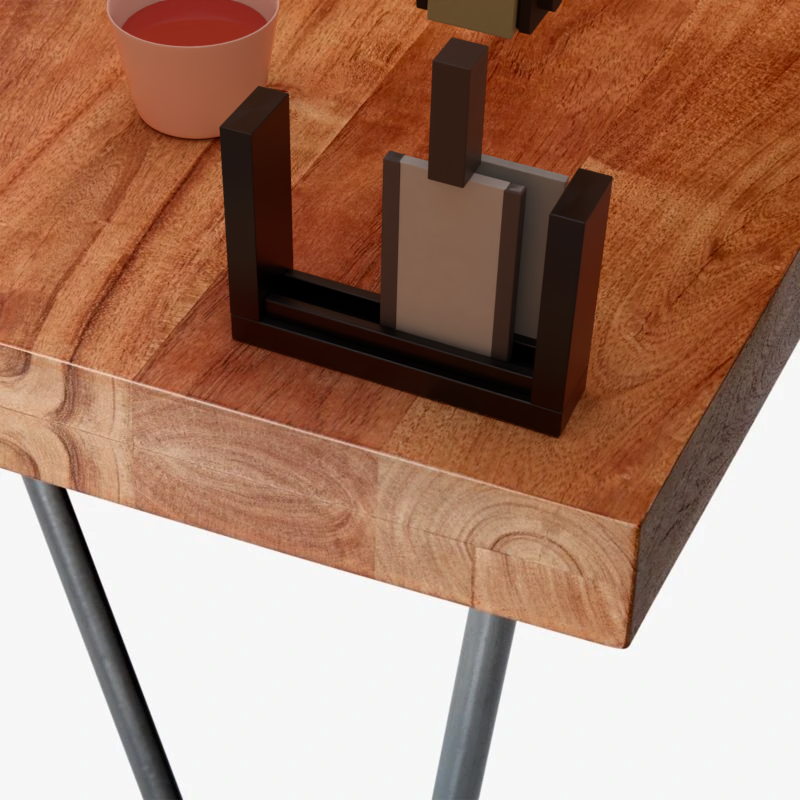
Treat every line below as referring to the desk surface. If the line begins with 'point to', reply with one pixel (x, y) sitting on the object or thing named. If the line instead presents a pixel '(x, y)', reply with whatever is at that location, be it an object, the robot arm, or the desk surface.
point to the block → (477, 15)
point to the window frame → (360, 309)
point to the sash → (452, 222)
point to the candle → (193, 58)
